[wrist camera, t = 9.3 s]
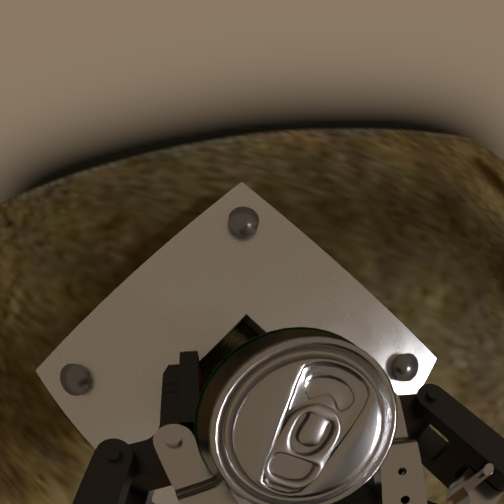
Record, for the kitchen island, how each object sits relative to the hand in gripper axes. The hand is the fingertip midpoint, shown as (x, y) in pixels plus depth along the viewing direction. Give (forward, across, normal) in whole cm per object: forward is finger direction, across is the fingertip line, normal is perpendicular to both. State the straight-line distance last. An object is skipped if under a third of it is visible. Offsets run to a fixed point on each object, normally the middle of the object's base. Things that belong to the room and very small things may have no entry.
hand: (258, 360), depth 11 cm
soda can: (+3, 0, +6) cm, 6 cm away
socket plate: (+4, 0, +6) cm, 7 cm away
